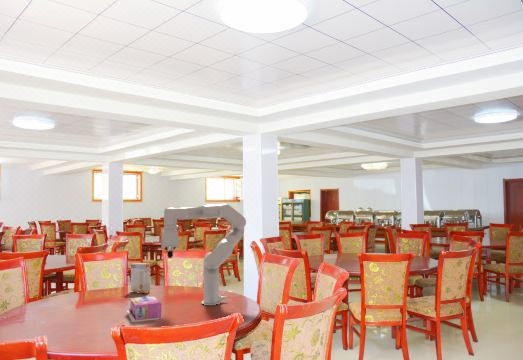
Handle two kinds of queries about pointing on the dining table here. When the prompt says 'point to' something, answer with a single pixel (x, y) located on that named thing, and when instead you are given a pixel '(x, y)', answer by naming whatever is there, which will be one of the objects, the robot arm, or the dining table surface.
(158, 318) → the mat
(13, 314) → the dining table surface
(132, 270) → the cracker box
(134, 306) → the gum box
